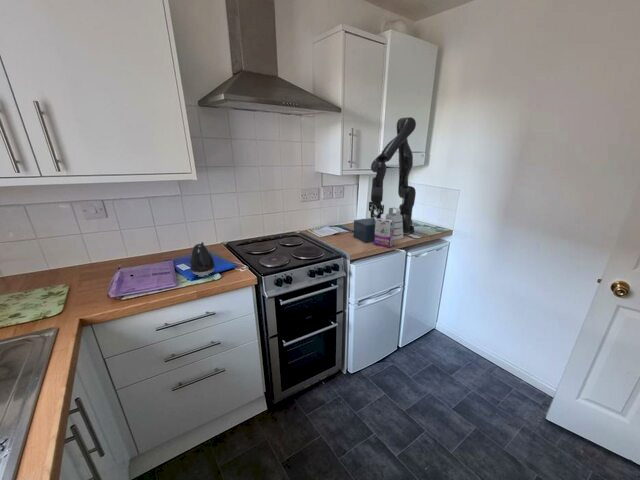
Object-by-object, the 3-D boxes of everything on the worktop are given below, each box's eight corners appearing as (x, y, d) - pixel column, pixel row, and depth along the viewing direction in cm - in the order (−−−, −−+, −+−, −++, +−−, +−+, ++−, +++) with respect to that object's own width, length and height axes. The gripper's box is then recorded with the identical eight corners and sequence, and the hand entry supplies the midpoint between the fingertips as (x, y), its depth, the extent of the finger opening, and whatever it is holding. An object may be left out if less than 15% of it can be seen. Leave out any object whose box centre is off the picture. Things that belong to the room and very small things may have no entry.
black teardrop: (218, 269, 146) (213, 240, 140) (213, 278, 136) (208, 247, 131) (196, 270, 144) (190, 240, 139) (189, 279, 135) (182, 248, 129)
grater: (391, 240, 198) (393, 210, 191) (381, 236, 206) (383, 207, 199) (403, 238, 203) (406, 209, 196) (393, 234, 212) (395, 206, 204)
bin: (369, 234, 210) (370, 219, 206) (382, 240, 198) (383, 224, 194) (353, 236, 203) (353, 221, 199) (365, 243, 191) (366, 226, 187)
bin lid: (371, 219, 206) (372, 211, 204) (384, 224, 194) (385, 216, 192) (353, 221, 199) (354, 213, 197) (366, 226, 187) (366, 218, 185)
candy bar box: (393, 245, 188) (395, 220, 182) (389, 247, 184) (391, 221, 178) (377, 242, 193) (378, 217, 187) (373, 244, 189) (375, 219, 183)
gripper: (388, 195, 188) (386, 220, 195) (375, 191, 200) (373, 216, 206) (378, 195, 185) (377, 222, 191) (365, 192, 196) (364, 217, 202)
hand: (375, 218), depth 198 cm, fingers open, 7 cm apart
